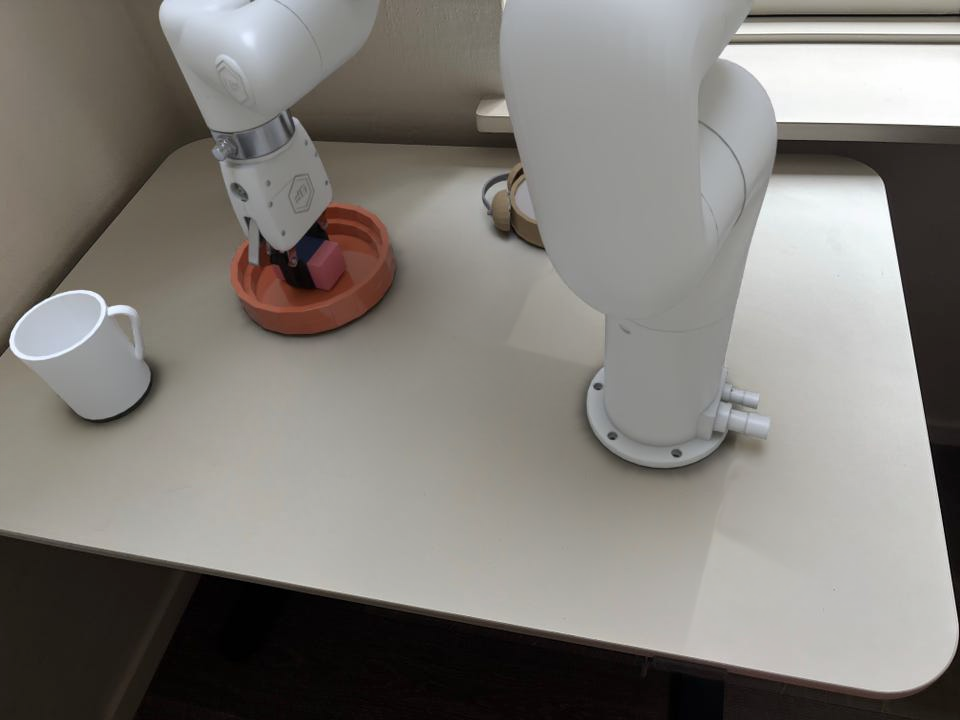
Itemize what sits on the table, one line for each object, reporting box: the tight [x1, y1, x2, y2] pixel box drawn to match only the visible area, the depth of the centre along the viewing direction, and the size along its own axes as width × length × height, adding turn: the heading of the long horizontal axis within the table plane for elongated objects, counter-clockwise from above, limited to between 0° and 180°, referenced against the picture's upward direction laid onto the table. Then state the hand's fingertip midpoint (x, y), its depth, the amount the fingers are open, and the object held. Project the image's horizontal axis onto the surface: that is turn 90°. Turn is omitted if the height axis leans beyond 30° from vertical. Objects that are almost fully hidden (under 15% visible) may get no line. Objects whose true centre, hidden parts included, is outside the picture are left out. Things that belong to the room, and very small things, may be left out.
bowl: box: [230, 202, 397, 335], centre depth 80 cm, size 18×18×4 cm
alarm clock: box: [481, 161, 545, 248], centre depth 82 cm, size 11×5×15 cm
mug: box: [8, 289, 153, 423], centre depth 71 cm, size 11×9×10 cm
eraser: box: [271, 235, 347, 291], centre depth 80 cm, size 7×4×4 cm, turn 67°
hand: (311, 270), depth 81 cm, fingers closed on eraser, 4 cm apart
